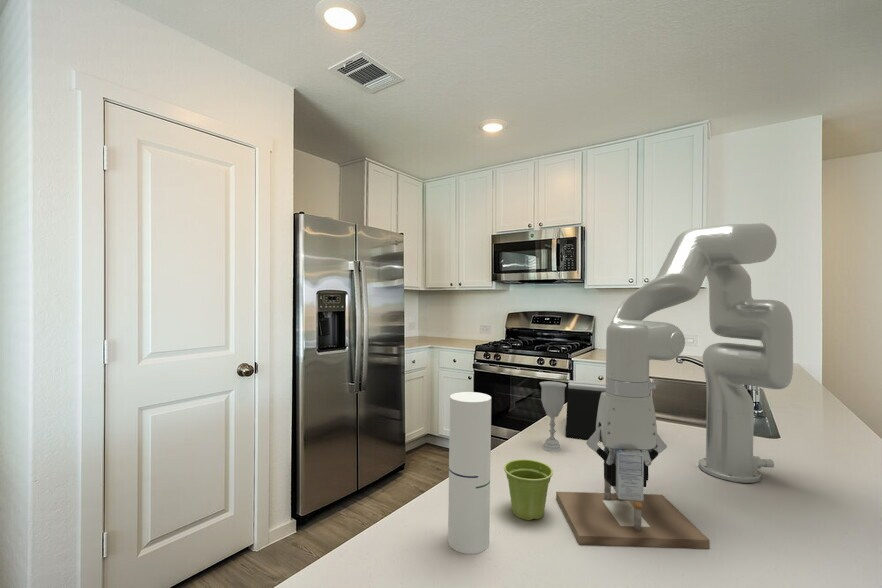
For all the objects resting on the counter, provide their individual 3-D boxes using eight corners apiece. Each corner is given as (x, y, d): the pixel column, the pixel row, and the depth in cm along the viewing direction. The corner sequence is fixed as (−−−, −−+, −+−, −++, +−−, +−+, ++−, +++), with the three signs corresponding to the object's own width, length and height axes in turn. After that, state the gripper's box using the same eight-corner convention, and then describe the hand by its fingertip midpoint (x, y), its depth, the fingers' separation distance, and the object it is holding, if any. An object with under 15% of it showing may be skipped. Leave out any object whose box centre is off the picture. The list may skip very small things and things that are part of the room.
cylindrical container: (446, 529, 75) (448, 392, 75) (484, 528, 76) (486, 391, 76) (450, 554, 68) (452, 402, 68) (493, 553, 69) (495, 402, 69)
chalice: (536, 450, 114) (537, 385, 114) (540, 442, 121) (541, 380, 121) (564, 454, 112) (565, 387, 112) (566, 446, 118) (567, 382, 118)
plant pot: (543, 531, 75) (544, 483, 75) (495, 516, 80) (496, 471, 80) (558, 509, 83) (559, 466, 83) (514, 496, 88) (514, 455, 88)
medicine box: (643, 502, 75) (644, 454, 75) (617, 500, 76) (618, 452, 76) (632, 483, 82) (633, 439, 82) (608, 480, 83) (609, 437, 83)
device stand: (570, 418, 146) (571, 375, 146) (641, 426, 138) (642, 381, 138) (565, 438, 125) (566, 388, 125) (648, 449, 117) (649, 396, 117)
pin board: (662, 501, 87) (662, 472, 87) (709, 548, 71) (709, 512, 71) (556, 498, 87) (556, 469, 87) (579, 544, 71) (579, 509, 71)
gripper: (662, 384, 83) (661, 476, 83) (575, 383, 83) (574, 473, 83) (683, 393, 75) (681, 494, 75) (588, 391, 76) (586, 491, 76)
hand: (625, 482), depth 79 cm, fingers closed on medicine box, 5 cm apart
